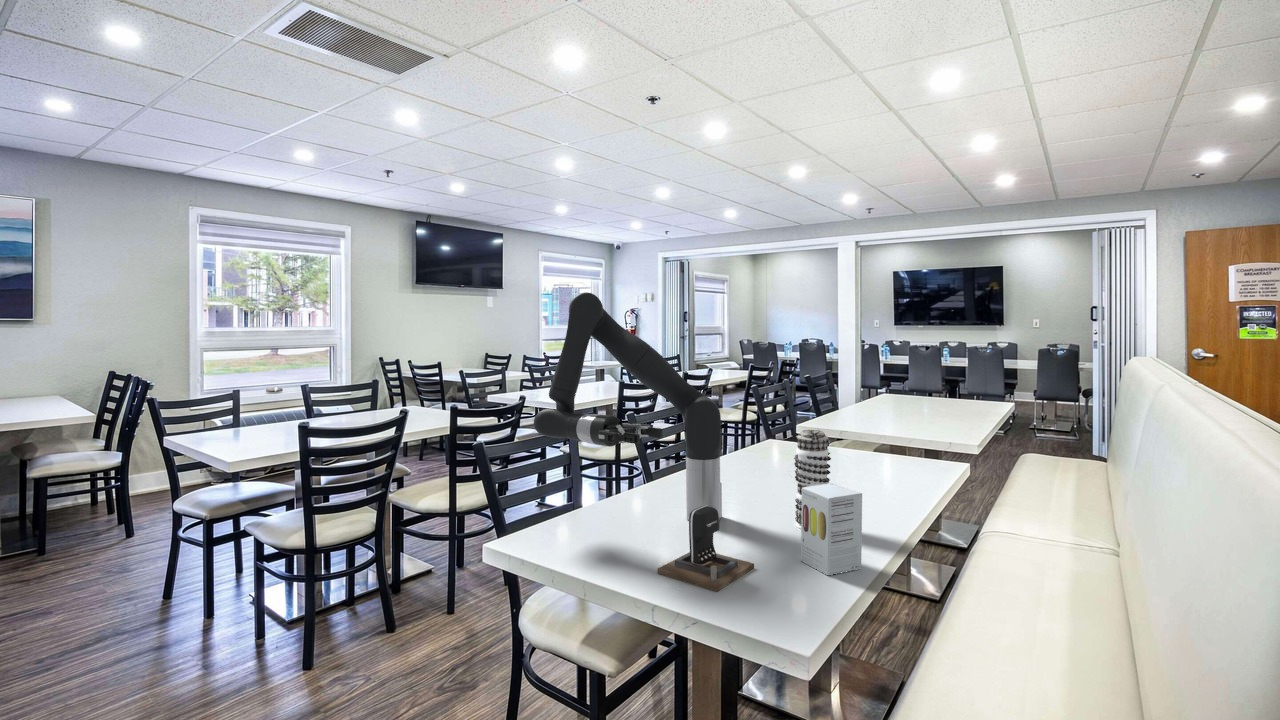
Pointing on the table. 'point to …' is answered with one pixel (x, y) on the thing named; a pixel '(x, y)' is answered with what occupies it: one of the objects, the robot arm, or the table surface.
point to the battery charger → (702, 534)
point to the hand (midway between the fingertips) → (650, 436)
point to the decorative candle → (810, 464)
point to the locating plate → (706, 571)
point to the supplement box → (831, 528)
